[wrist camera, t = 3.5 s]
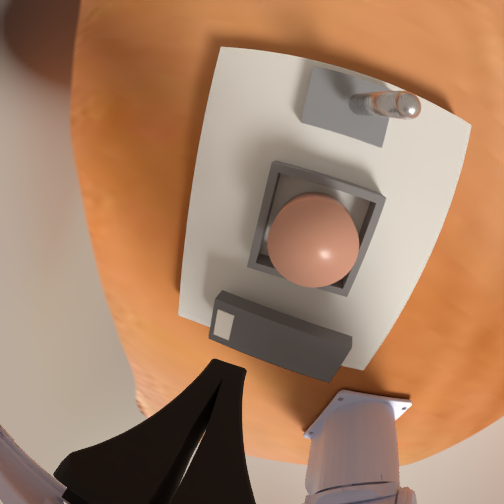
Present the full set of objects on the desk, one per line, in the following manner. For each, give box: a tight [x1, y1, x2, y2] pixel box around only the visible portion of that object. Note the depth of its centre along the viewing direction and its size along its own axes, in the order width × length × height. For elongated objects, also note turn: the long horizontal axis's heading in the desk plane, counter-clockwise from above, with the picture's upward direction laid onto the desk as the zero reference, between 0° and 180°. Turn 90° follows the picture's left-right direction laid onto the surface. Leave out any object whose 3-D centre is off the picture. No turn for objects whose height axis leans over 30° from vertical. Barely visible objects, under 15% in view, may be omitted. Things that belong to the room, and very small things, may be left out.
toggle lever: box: [348, 91, 421, 120], centre depth 8 cm, size 1×1×4 cm
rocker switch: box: [209, 290, 352, 383], centre depth 15 cm, size 3×8×1 cm, turn 78°
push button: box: [267, 192, 359, 287], centre depth 12 cm, size 4×4×2 cm
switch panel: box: [178, 47, 471, 370], centre depth 14 cm, size 18×14×3 cm
